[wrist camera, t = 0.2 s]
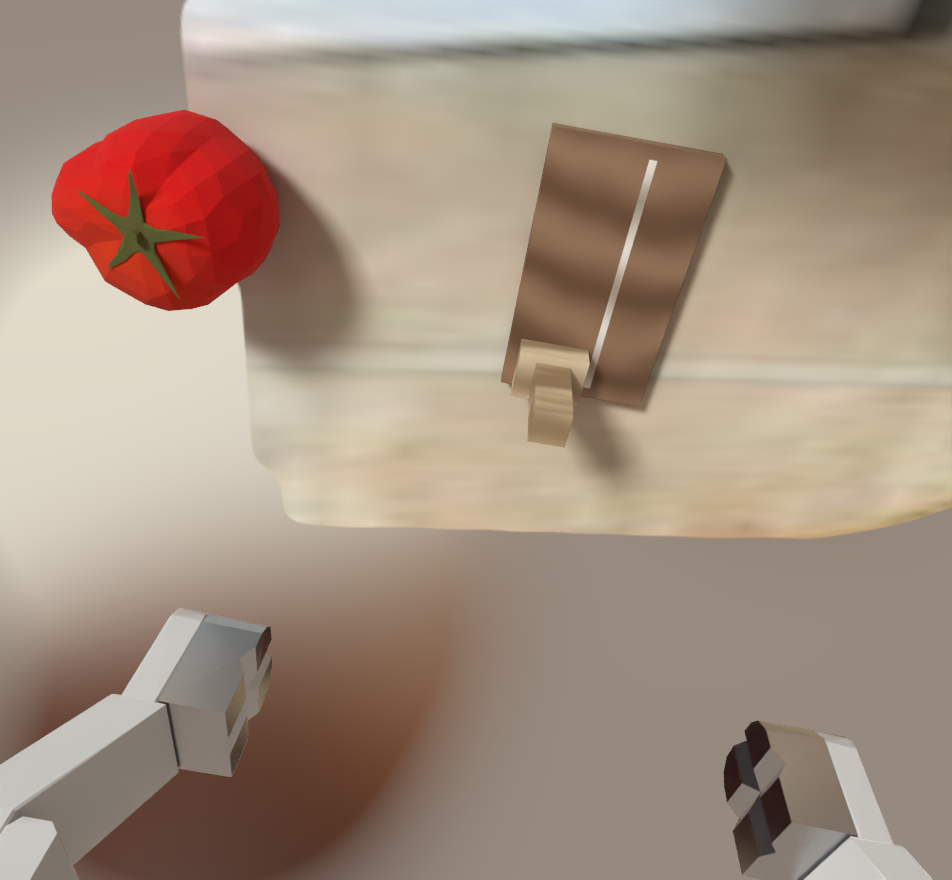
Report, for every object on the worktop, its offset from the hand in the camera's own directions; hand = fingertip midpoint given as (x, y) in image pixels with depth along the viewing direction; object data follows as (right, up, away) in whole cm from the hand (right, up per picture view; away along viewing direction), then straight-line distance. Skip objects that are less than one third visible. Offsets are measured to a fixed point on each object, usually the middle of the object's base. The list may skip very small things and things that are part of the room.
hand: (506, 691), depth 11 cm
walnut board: (+10, +18, +45) cm, 49 cm away
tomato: (-23, +25, +44) cm, 55 cm away
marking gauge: (+6, +11, +49) cm, 50 cm away
